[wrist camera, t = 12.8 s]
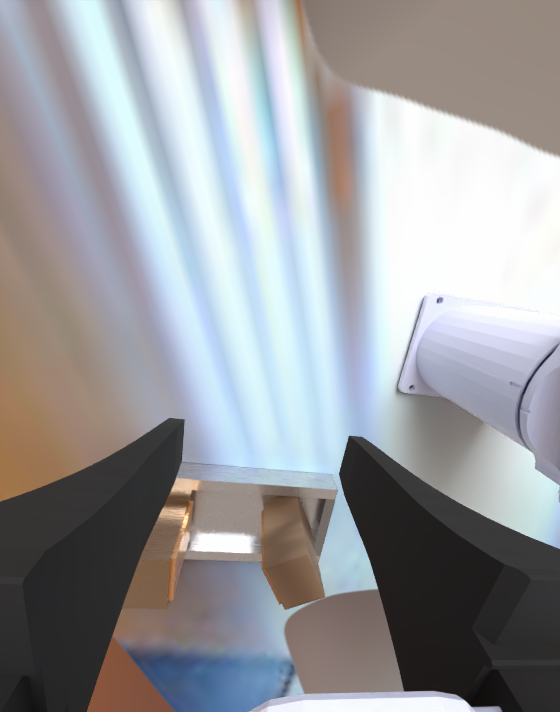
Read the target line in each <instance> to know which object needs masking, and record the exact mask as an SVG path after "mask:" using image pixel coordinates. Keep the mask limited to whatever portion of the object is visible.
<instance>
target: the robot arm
mask: <svg viewBox="0 0 560 712" xmlns="http://www.w3.org/2000/svg"><path fill="white" fill-rule="evenodd" d="M437 298H440V301H439V302H438V303H437V302H436V300H437ZM411 385H412V388H411V389H409V387H410V386H411ZM398 389H399V390H400V391H401V392H403V393H409V394H418V395H426V396H434V397H442V398H447V399H449V400H450V401H452V402H453V403H455V404H457V405H458V406H460V407H461V408H463V409H464V410H466V411H468V412H469V413H471V414H472V415H474V416H476V417H477V418H479V419H480V420H482V421H483V422H485V423H487V424H488V425H490V426H491V427H493V428H495V429H496V430H498V431H499V432H501V433H502V434H504V435H506V436H507V437H509V438H510V439H512V440H514V441H515V442H517V443H518V444H520V445H521V446H523V447H525V448H526V449H528V450H529V451H531V452H533V454H534V456H535V461H536V462H535V469H536V470H538V471H539V472H541V473H542V474H544V475H545V476H547V477H548V478H550V479H551V480H553V481H554V482H555V483H557V484H558V485H560V315H555V314H546V313H540V312H539V311H538V310H534V309H528V308H522V307H516V306H511V305H505V304H499V303H493V302H487V301H482V300H476V299H470V298H464V297H459V296H453V295H447V294H441V293H435V292H430V293H428V294H427V295H426V296H425V298H424V301H423V305H422V308H421V311H420V315H419V318H418V321H417V324H416V328H415V331H414V334H413V338H412V341H411V344H410V348H409V351H408V354H407V358H406V361H405V364H404V368H403V371H402V374H401V378H400V381H399V384H398ZM183 435H184V419H174V418H169V419H167V420H166V421H164V422H163V423H161V424H160V425H158V426H157V427H155V428H154V429H152V430H151V431H150V432H148V433H146V434H145V435H143V436H142V437H140V438H139V439H137V440H136V441H134V442H133V443H131V444H129V445H127V446H126V447H124V448H122V449H121V450H119V451H117V452H116V453H114V454H112V455H111V456H109V457H107V458H105V459H103V460H101V461H99V462H97V463H95V464H93V465H91V466H89V467H87V468H85V469H83V470H81V471H79V472H77V473H74V474H72V475H70V476H67V477H65V478H62V479H60V480H57V481H55V482H53V483H50V484H48V485H45V486H43V487H41V488H38V489H35V490H32V491H30V492H27V493H24V494H22V495H19V496H16V497H13V498H10V499H7V500H4V501H1V502H0V712H87V709H88V706H89V703H90V700H91V697H92V694H93V691H94V687H95V685H96V681H97V678H98V675H99V673H100V670H101V666H102V664H103V661H104V658H105V655H106V652H107V649H108V646H109V643H110V641H111V638H112V635H113V632H114V629H115V626H116V623H117V620H118V618H119V615H120V612H121V609H122V606H123V604H124V601H125V598H126V595H127V592H128V590H129V587H130V584H131V581H132V579H133V576H134V573H135V571H136V568H137V565H138V563H139V560H140V557H141V555H142V552H143V550H144V547H145V545H146V543H147V540H148V538H149V536H150V534H151V532H152V530H153V528H154V526H155V524H156V521H157V519H158V517H159V515H160V513H161V511H162V509H163V507H164V505H165V503H166V500H167V498H168V496H169V494H170V492H171V490H172V488H173V485H174V483H175V480H176V477H177V474H178V471H179V468H180V465H181V462H182V450H183ZM339 475H340V480H341V484H342V488H343V492H344V495H345V498H346V501H347V503H348V506H349V509H350V511H351V514H352V516H353V519H354V521H355V524H356V526H357V529H358V531H359V534H360V536H361V539H362V541H363V544H364V546H365V549H366V551H367V554H368V557H369V560H370V563H371V566H372V569H373V573H374V576H375V579H376V583H377V586H378V589H379V592H380V596H381V600H382V603H383V607H384V611H385V615H386V618H387V622H388V626H389V630H390V634H391V638H392V642H393V646H394V650H395V654H396V658H397V662H398V666H399V670H400V675H401V679H402V683H403V688H404V692H370V693H326V694H298V695H293V696H287V697H282V698H276V699H271V700H268V701H267V702H265V703H263V704H261V705H259V706H257V707H256V708H254V709H252V710H250V711H248V712H560V549H558V548H555V547H553V546H550V545H548V544H545V543H543V542H540V541H538V540H535V539H533V538H530V537H528V536H526V535H523V534H521V533H519V532H517V531H514V530H512V529H510V528H508V527H505V526H503V525H501V524H499V523H497V522H495V521H493V520H491V519H489V518H487V517H485V516H483V515H481V514H479V513H477V512H475V511H473V510H471V509H469V508H467V507H465V506H463V505H462V504H460V503H458V502H456V501H455V500H453V499H451V498H449V497H448V496H446V495H444V494H443V493H441V492H439V491H438V490H436V489H434V488H433V487H431V486H430V485H428V484H427V483H425V482H424V481H422V480H421V479H419V478H418V477H416V476H415V475H414V474H412V473H411V472H409V471H408V470H406V469H405V468H404V467H402V466H401V465H400V464H398V463H397V462H396V461H394V460H393V459H392V458H390V457H389V456H388V455H386V454H385V453H384V452H382V451H381V450H380V449H378V448H377V447H376V446H374V445H373V444H372V443H370V442H369V441H367V440H366V439H364V438H363V437H357V436H349V438H348V442H347V445H346V449H345V453H344V457H343V461H342V464H341V468H340V472H339ZM558 494H559V502H560V488H559V492H558Z"/></svg>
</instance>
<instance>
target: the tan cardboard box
mask: <svg viewBox="0 0 560 712" xmlns="http://www.w3.org/2000/svg"><path fill="white" fill-rule="evenodd" d="M263 509H264V510H262V511H261V535H262V570H263V572H264V574H265V576H266V578H267V580H268V582H269V584H270V586H271V588H272V590H273V592H274V594H275V596H276V598H277V600H278V602H279V604H282V605H283V607H284V609H285V610H286V609H289V608H292V607H296V606H299V605H302V604H305V603H308V602H311V601H314V600H317V599H321V598H324V597H325V594H324V589H323V584H322V580H321V575H320V570H319V565H318V560H317V556H316V551H315V546H314V541H313V536H312V532H311V527H310V524H309V522H308V519H307V516H306V514H305V511H304V509H303V506H302V503H301V501H300V498H299V497H291V496H277V497H274V498H271V499H267V500H264V501H263Z"/></svg>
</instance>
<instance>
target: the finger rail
mask: <svg viewBox="0 0 560 712" xmlns="http://www.w3.org/2000/svg"><path fill="white" fill-rule="evenodd" d="M337 491H338V489H337V486H336V484H335V481H334V478H333V476H332V474H320V473H308V472H295V471H282V470H270V469H257V468H245V467H232V466H219V465H207V464H194V463H181V465H180V468H179V471H178V474H177V477H176V480H175V483H174V485H173V488H172V490H171V492H170V494H169V496H168V498H167V500H166V503H165V505H164V507H163V509H162V511H161V513H160V515H159V517H158V519H157V521H156V524H155V526H154V528H153V530H152V532H151V534H150V536H149V538H148V540H147V543H146V545H145V547H144V550H143V552H142V555H141V557H140V560H139V563H138V565H137V568H136V571H135V573H134V576H133V579H132V581H131V584H130V587H129V590H128V592H127V595H126V598H125V601H124V604H123V606H122V608H155V609H167V607H168V603H169V600H173V599H174V595H175V591H176V588H177V584H178V580H179V577H180V573H181V569H182V565H183V562H184V559H194V560H221V561H248V562H262V535H261V511H262V510H264V509H263V501H264V500H267V499H271V498H274V497H277V496H291V497H299V498H300V501H301V503H302V506H303V509H304V511H305V514H306V516H307V519H308V522H309V524H310V527H311V532H312V536H313V541H314V546H315V551H316V556H317V560H318V563H319V559H320V555H321V551H322V548H323V544H324V540H325V536H326V533H327V529H328V525H329V521H330V517H331V514H332V510H333V506H334V502H335V499H336V495H337Z"/></svg>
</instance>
